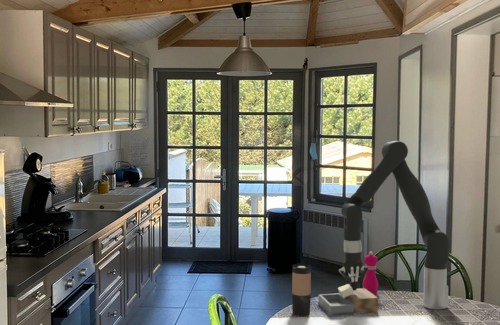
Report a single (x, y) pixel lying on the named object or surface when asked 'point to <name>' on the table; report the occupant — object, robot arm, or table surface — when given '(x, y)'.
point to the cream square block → (345, 290)
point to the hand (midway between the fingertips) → (353, 289)
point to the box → (335, 304)
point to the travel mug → (301, 289)
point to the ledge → (363, 301)
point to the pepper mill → (371, 274)
